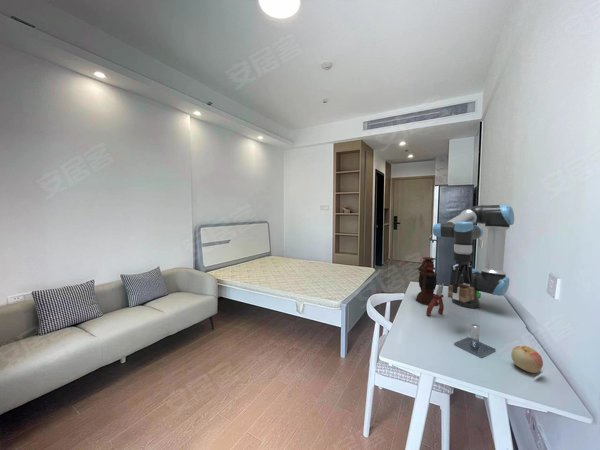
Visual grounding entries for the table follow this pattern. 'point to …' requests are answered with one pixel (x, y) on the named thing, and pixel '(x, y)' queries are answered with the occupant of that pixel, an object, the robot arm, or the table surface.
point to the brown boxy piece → (462, 292)
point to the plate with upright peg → (475, 344)
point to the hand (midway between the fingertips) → (460, 297)
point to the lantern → (427, 282)
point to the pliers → (436, 298)
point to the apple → (527, 359)
